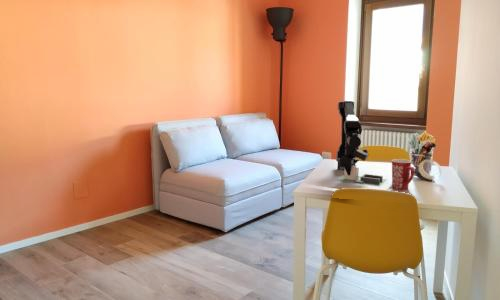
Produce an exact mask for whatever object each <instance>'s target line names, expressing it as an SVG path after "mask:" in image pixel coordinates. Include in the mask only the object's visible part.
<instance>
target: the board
mask: <svg viewBox="0 0 500 300" xmlns="http://www.w3.org/2000/svg"><path fill="white" fill-rule="evenodd" d="M361 176H362V175H358V180H350V179H344V176H343V177H341V178H340V179H338V180H337V182H341V183H349V184H356V185H363V186H370V187H378V188H380V187H381V186H382V185H384V183H386V182H387V181H388V179H387V178H383V180H382V182H380V184H373V183H365V182H364V181H362V180H360V179H361Z"/></svg>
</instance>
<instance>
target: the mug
mask: <svg viewBox="0 0 500 300" xmlns="http://www.w3.org/2000/svg"><path fill="white" fill-rule="evenodd" d="M411 164H412V160H409V159H404V158H403V159H402V158H400V159H399V158H397V159H396V158H394V159H391V180H392V181H391V186H392V187H391V188H392V189H394V190H399V191H404V190H409V184H410V183H411V182H412V180H413V178H414V176H415V175H414V174H415V170H414V167H413V166H412V165H411Z"/></svg>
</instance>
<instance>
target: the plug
mask: <svg viewBox="0 0 500 300" xmlns="http://www.w3.org/2000/svg"><path fill="white" fill-rule="evenodd" d="M359 168H360V167H357V165H356V164H355V165H352V168H351V173H350V175H348V174H347V172H346V170H345V167H340V169H343V170H342V171H343V172H344V174H343V175H344V176H343V177H344V179H350V180H358V176H359V174H360V173H359V170H360V169H359ZM340 169H339V170H340Z"/></svg>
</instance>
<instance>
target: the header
mask: <svg viewBox="0 0 500 300" xmlns="http://www.w3.org/2000/svg"><path fill="white" fill-rule="evenodd" d="M360 176H361V179H360V180H362V181H364V182H365V183H373V184H380V182H382V180H383V179H384V178H383V177H384V176H383V175H378V174H377V175H376V174H369V173H364V174H362V175H360Z"/></svg>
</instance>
